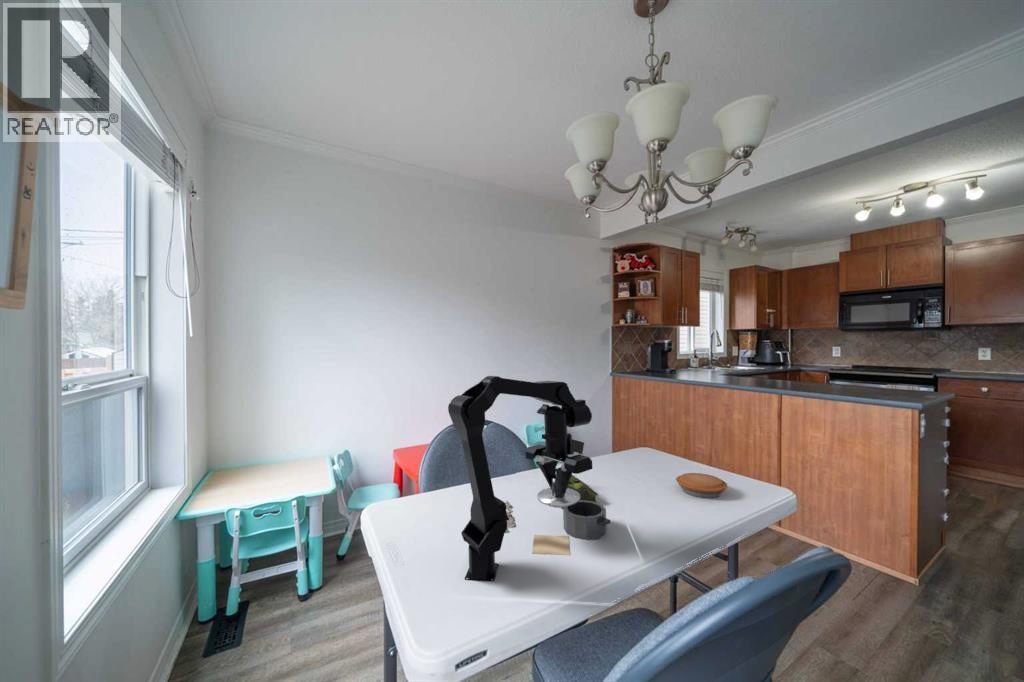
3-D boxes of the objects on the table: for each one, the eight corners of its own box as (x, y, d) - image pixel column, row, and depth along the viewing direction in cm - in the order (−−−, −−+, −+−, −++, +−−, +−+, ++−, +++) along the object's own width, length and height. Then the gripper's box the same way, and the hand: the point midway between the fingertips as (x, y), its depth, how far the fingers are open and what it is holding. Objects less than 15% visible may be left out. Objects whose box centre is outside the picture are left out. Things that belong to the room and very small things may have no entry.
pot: (620, 534, 97) (619, 511, 97) (593, 549, 90) (592, 524, 90) (578, 516, 108) (577, 495, 108) (551, 528, 101) (551, 506, 101)
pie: (669, 484, 132) (668, 470, 132) (713, 484, 131) (712, 469, 131) (687, 501, 116) (687, 486, 117) (737, 501, 116) (737, 485, 116)
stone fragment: (491, 543, 96) (527, 537, 98) (490, 532, 96) (527, 526, 98) (476, 504, 120) (505, 499, 123) (476, 495, 120) (505, 491, 123)
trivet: (570, 557, 86) (570, 554, 86) (532, 555, 87) (532, 553, 87) (568, 538, 95) (568, 535, 95) (534, 537, 96) (534, 534, 96)
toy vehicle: (570, 485, 134) (569, 457, 134) (600, 506, 115) (599, 474, 115) (547, 489, 131) (546, 460, 131) (573, 511, 112) (572, 478, 112)
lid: (581, 511, 87) (580, 485, 88) (536, 510, 89) (535, 485, 89) (578, 493, 98) (577, 470, 98) (538, 493, 99) (537, 470, 100)
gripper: (605, 430, 92) (608, 493, 91) (552, 420, 106) (554, 475, 106) (575, 438, 85) (578, 506, 84) (523, 427, 99) (525, 485, 99)
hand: (558, 491), depth 94 cm, fingers closed on lid, 3 cm apart
